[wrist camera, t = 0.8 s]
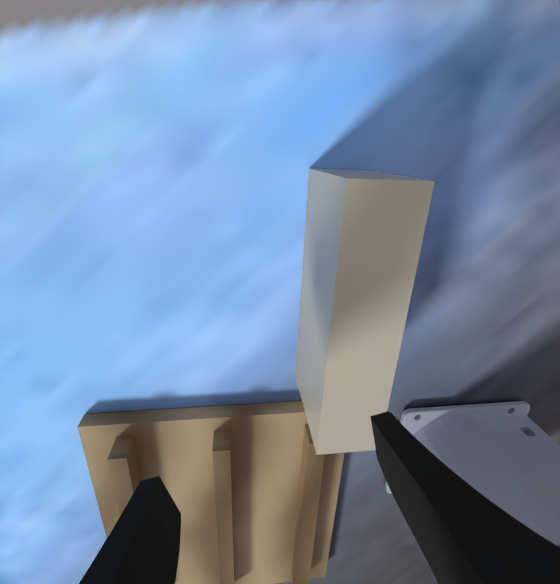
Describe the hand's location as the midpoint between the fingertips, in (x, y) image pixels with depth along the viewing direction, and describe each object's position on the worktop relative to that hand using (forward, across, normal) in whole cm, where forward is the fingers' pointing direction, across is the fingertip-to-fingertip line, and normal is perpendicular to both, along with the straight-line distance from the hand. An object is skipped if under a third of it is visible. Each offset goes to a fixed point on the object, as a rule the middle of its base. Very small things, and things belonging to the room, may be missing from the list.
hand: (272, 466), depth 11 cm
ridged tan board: (+9, +6, +13) cm, 17 cm away
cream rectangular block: (+9, -4, -2) cm, 10 cm away
